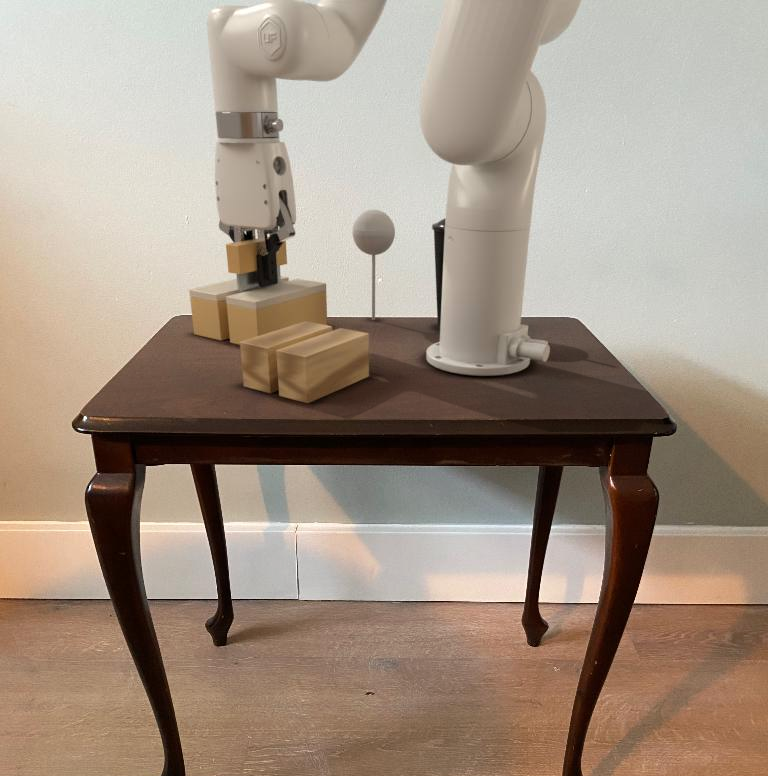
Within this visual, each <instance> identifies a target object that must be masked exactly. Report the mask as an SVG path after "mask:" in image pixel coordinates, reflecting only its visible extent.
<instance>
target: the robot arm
mask: <svg viewBox="0 0 768 776" xmlns="http://www.w3.org/2000/svg"><path fill="white" fill-rule="evenodd" d="M387 2H388V0H318V1H317V3H316V4H314V3H311V2H306V1H299V0H266V1H263V2H262V1H261V2H260V3H256V4H253V5H221V6H217V7H215V8H213V9H211V11H209V13H208V15H207V19H206V30H207V40H208V50H209V60H210V72H211V82H212V91H213V92H212V93H213V103H214V111H215V122H216V123H215V124H216V132H217V141H216V142H215V151H214V152H215V154H214V155H215V156H214V184H215V186H214V187H215V201H216V209H217V214H218V219H219V222H218V228H219V230H220V231H221V232H222V233H224V234H225V235H227V236H228V237H229V238H230V240H231V241H232V243H235V242H241V241H246V240H252V239H258V245H259V253H260V254H261V255H256V257H257V275H258V285H259V286H260V287H266V286H270V285H274V284H277V283H278V275H277V260H276V253H279V251H280V247H281V245H282V244H283V243H284V241H286V242H287V241H288V240H290V239H292V238H293V237H295V236H296V230H295V227H294V225H295V224H296V221H297V207H296V197H295V196H296V195H295V187H294V179H293V173H292V172H293V171H292V167H291V161H290V157H289V153H288V149H287V146H286V143H285V142H284V141H281V138H280V132H282V131H283V130H284V122H283V120H282V119H281V118H279V112H278V111H279V107H278V89H277V79H279V80H286V81H287V80H288V81H298V82H299V81H308V82H309V81H310V82H320V83H321V82H322V83H323V82H332V81H334V80H337V79H338V78H340V77H341V76H343V75H344V74H345V73H346V72H347V71H348V70H349V69H350V68H351V67H352V65H353V64H354V63H355V61H356V60H357V59H358V56H359V55H360V53H361V52H362V50H363V49H364V47H365V45H366V43H367V42H368V40H369V38H370V37H371V35H372V33H373V31H374V29H375V28H376V26H377V24H378V22H379V20H380V18H381V16H382V14H383V12H384V10H385V7H386V4H387ZM581 2H582V0H445V2H444V5H443V9H442V12H441V13H442V14H441V17H440V20H439V24H438V28H437V31H436V35H435V38H434V42H433V46H432V50H431V53H430V56H429V59H428V63H427V67H426V70H425V74H424V78H423V82H422V86H421V92H420V97H419V106H418V109H419V110H418V112H419V113H418V115H419V116H418V117H419V124H420V125H419V126H420V129H421V132H422V133H421V134H422V135H423V138H424V140H425V142H426V144H427V145H428V147H429V149H431V151H432V152H433V153H434V154H435V155H436V156H437V157H439V159H442V160H443V161H445V162H446V163H449V164H451V168H450V174H449V180H448V185H447V194H446V203H445V217H444V218H445V236H444V258H443V280H442V302H441V324H440V329H439V341H438V342H435V343H433V344H430V346H428V347H427V349H426V353H425V356H426V357H425V358H426V361H427V363H428V364H430V365H431V366H433V367H434V368H436V369H437V370H441V371H444V372H446V373H447V372H448V373H450V374H451V373H452V374H458V375H463V376H472V377H473V376H474V377H475V376H476V377H495V376H497V377H498V376H505V375H511V374H515V373H518V372H522V371H523V370H525V369H526V368H528V367H529V365H530V363H531V360H532V361H537V362H541V363H546V362H547V361H548V359H549V356H550V352H551V348H550V347H551V346H550V345H549V342H548V341H547V340H543V339H534V338H531V337H530V335H528V334H529V333H528V332H529V325H527V324H522V313H523V302H524V292H525V285H526V284H525V283H526V272H527V265H528V264H527V262H528V253H529V242H530V232H531V225H532V217H533V216H532V215H533V207H534V199H535V198H534V196H535V189H536V181H537V177H538V176H537V175H538V169H539V164H540V160H541V154H542V150H543V149H542V148H543V144H544V139H545V132H546V124H547V102H546V97H545V93H544V90H543V87H542V85H541V83H540V81H539V80H538V77H537V76H536V75H535V73H534V72H533V71H532V70H531V69H532V68H533V64H534V61H535V58H536V56H537V53H538V50H539V47H540V46H544V45H548V44H549V43H552V42H554V41H555V40H557V39H558V38H559V37H561V35H563V34H564V33H565V31H566V30H567V29H568V28H569V27H570V25H571V24H572V22H573V20H574V19H575V16H576V15H577V12H578V10H579V7H580V4H581ZM256 232H257V238H256ZM268 235H269V236H270V237H269V236H268ZM267 237H269V238H268V239H267Z"/></svg>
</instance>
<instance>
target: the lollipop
mask: <svg viewBox="0 0 768 776" xmlns="http://www.w3.org/2000/svg"><path fill="white" fill-rule="evenodd" d="M395 235H396V228H395V224H394V222H393V220H392V218H390V216H389V215H388V214H387V213H386V212H384V211H382V210H379V209H369V210H365V211H363V212H362V213H361V214H359V215H358V216H357V217H356V219H355V221H354V223H353V226H352V238H353V241H354V244H355V246H356V247H357V249H359V250H360V251H361V252H363V253H364V254H366V255H369V256H371V321H376V256H378V255H381V254H384V253H385V252H387V251H388V250H389V249H390V247H391V246H392V244H393V243H394V240H395Z"/></svg>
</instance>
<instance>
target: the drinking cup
mask: <svg viewBox="0 0 768 776" xmlns="http://www.w3.org/2000/svg"><path fill="white" fill-rule="evenodd" d="M445 218H446V217H444V218H443V219H440V220H439V221H438V222H435V223H432V225H431V230H433V241H434V267H435V269H434V270H435V292H436V295H435V296H436V315H437V317H436V318H437V320H436V321H437V329H438V330H440V324H441V302H442V280H443V258H444V236H445Z"/></svg>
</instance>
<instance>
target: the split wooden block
mask: <svg viewBox="0 0 768 776" xmlns="http://www.w3.org/2000/svg"><path fill="white" fill-rule="evenodd" d="M239 348H240V358H241V371H242V382H243V387H245V388H248V389H252V390H256V391H260V392H264V393H267V394H272V393H275V392H278V396H279V397H281V398H286V399H290V400H293V401H296V402H297V401H298V402H301V403H304V404H310V403H313V402H314V401H317V400H319V399H321V398H323V397H325V396H328V395H330V394H332V393H335V392H337V391H340V390H342V389H344V388H346V387H348V386H351V385H353V384H355V383H357V382H359V381H363V380H364V379H366V378H368V377H370V333H368V332H363V331H358V330H353V329H348V328H342V327H340V328H337V329H333V326H332V325H328V324H327V325H323V324H318V323H313V322H307V321H305V322H302V323H299V324H295V325H292V326H289V327H286V328H283V329H279V330H276V331H273V332H270V333H267V334H264V335H260V336H257V337H254V338H251V339H248V340H245V341H241V342H240V345H239Z"/></svg>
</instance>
